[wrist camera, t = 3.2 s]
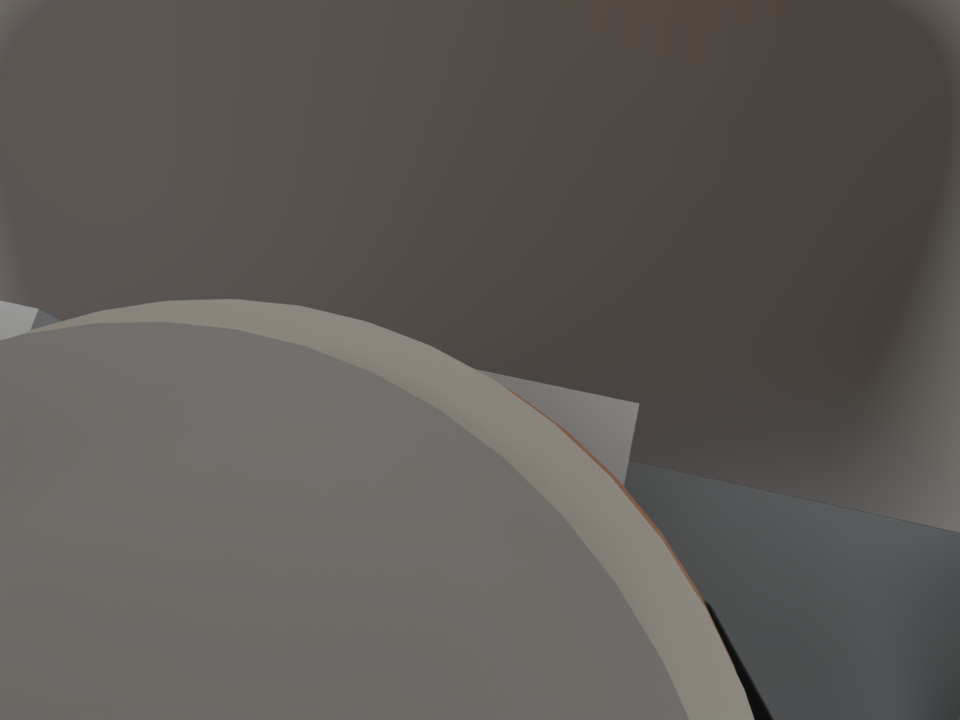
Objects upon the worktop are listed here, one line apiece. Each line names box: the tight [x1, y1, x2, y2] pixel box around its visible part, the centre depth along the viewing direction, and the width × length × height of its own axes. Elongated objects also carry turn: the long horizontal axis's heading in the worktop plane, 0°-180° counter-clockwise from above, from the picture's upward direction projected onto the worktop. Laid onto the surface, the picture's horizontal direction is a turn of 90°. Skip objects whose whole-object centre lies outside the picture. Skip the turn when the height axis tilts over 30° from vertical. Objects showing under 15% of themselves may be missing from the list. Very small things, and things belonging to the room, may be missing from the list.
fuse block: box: [0, 301, 960, 720], centre depth 13 cm, size 9×25×3 cm, turn 77°
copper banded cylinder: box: [0, 299, 754, 720], centre depth 8 cm, size 5×5×12 cm
